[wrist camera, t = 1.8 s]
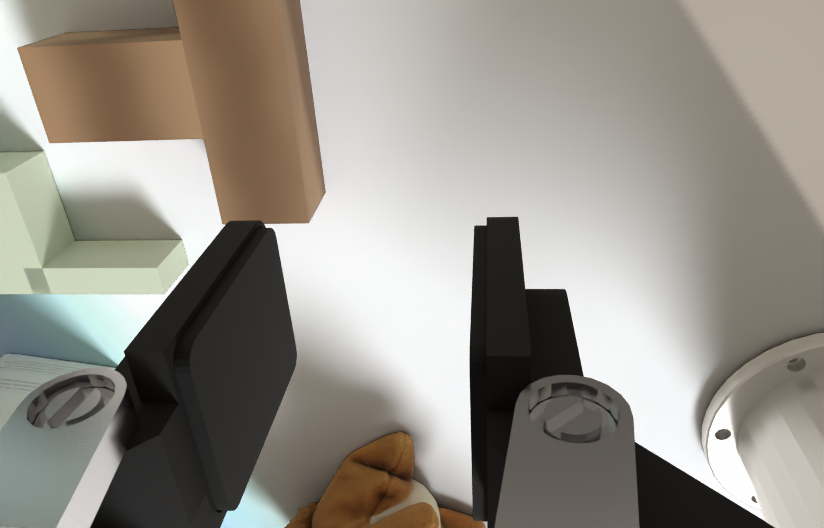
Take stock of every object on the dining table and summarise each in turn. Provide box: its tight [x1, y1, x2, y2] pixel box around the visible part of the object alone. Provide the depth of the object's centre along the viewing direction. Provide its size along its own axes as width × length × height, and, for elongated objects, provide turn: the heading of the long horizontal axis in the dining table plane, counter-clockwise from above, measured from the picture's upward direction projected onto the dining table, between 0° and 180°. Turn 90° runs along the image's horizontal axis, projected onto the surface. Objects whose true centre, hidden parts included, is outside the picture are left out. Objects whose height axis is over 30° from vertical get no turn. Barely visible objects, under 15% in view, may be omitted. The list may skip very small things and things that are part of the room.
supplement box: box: [0, 354, 116, 431], centre depth 35 cm, size 7×7×13 cm
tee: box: [17, 0, 326, 224], centre depth 28 cm, size 11×12×4 cm
